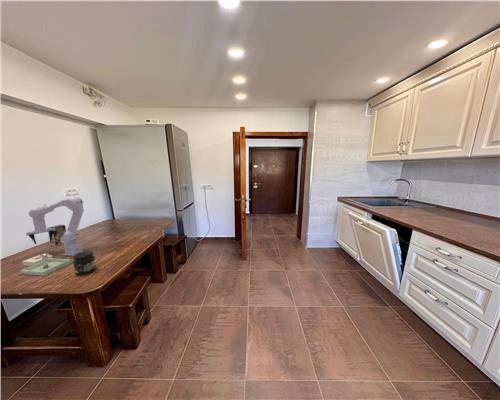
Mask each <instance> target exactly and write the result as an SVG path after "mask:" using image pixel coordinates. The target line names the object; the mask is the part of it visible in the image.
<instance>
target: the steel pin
mask: <svg viewBox="0 0 500 400" xmlns="http://www.w3.org/2000/svg"><path fill="white" fill-rule="evenodd" d="M39 255H40V257H42V263H43V268H47V267H49V265H48V256H47V255H50V253H49V252H45V253H41V254H39Z"/></svg>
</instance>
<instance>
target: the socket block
mask: <svg viewBox="0 0 500 400" xmlns="http://www.w3.org/2000/svg"><path fill="white" fill-rule="evenodd" d="M40 255H41V254H38V255H35V256H33V257H31V258H30V257H29V258H28V259H25V260H23V261H22V266H27V267H30V266H33V265H35V264H38V263H40V262H42V257H40ZM47 256H48V259H50V258H53V254H49V255H47Z"/></svg>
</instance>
